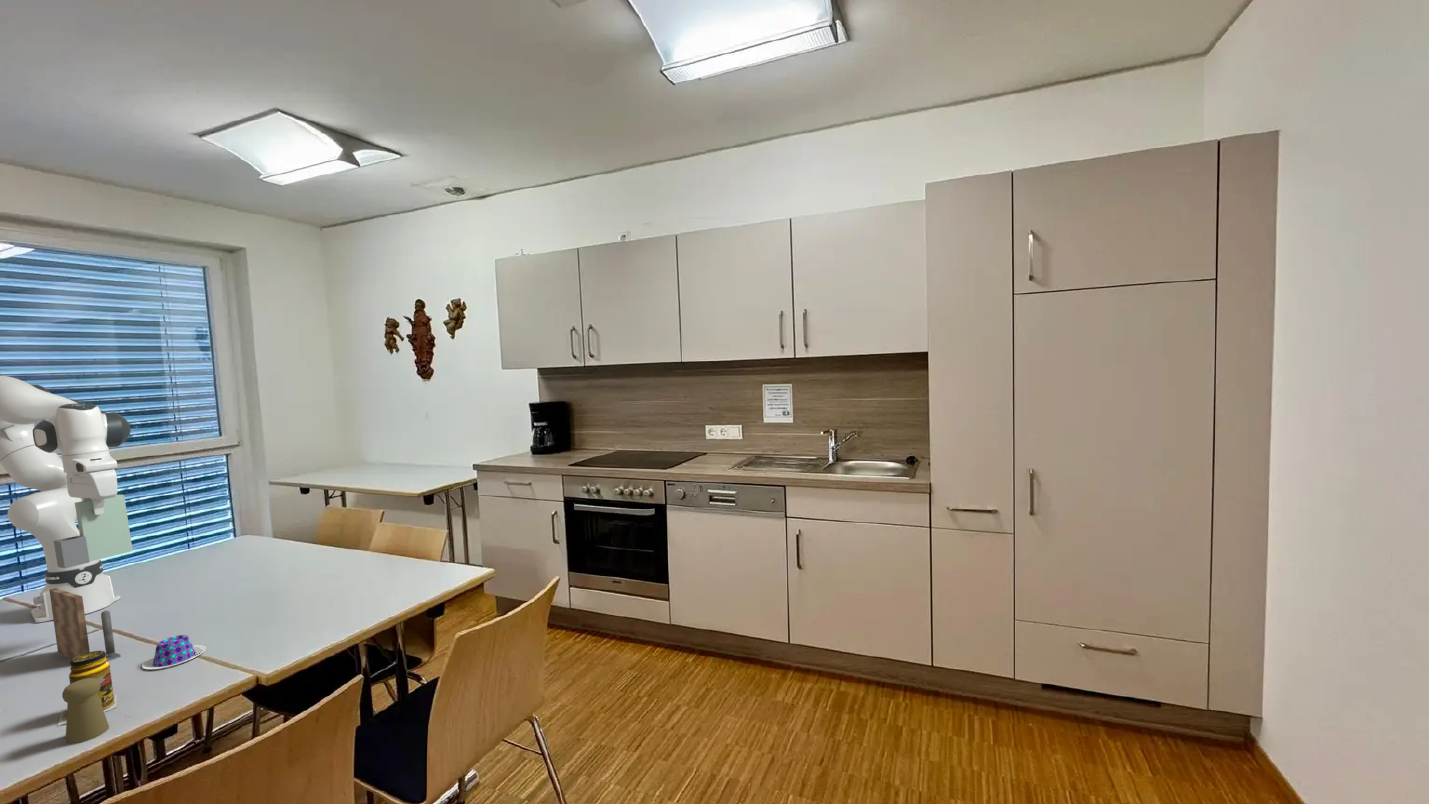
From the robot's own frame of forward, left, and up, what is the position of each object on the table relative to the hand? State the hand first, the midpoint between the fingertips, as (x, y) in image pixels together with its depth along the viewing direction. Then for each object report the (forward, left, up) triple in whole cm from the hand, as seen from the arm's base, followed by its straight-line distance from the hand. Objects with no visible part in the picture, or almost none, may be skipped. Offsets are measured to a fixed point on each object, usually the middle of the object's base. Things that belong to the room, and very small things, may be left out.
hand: (95, 514), depth 159 cm
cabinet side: (+6, -6, -35) cm, 36 cm away
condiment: (+43, -18, -36) cm, 58 cm away
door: (0, -1, -12) cm, 12 cm away
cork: (+55, -22, -35) cm, 69 cm away
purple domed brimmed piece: (+32, +1, -36) cm, 48 cm away
